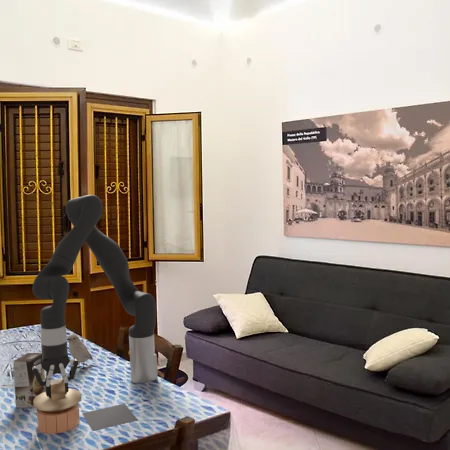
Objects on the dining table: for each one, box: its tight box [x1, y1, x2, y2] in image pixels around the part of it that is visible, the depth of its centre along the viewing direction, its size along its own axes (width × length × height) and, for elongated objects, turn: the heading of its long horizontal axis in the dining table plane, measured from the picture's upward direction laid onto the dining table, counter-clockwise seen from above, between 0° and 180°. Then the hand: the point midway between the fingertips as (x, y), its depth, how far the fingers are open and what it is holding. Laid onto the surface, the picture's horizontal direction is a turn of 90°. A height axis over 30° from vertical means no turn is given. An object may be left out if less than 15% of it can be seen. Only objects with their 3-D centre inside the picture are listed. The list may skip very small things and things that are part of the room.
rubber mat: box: [81, 403, 138, 432], centre depth 168 cm, size 14×14×1 cm
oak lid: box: [33, 377, 82, 411], centre depth 163 cm, size 14×14×6 cm
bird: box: [67, 333, 94, 370], centre depth 214 cm, size 5×14×15 cm, turn 148°
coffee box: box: [12, 352, 46, 409], centre depth 181 cm, size 9×6×16 cm
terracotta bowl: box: [36, 403, 81, 434], centre depth 164 cm, size 12×12×6 cm
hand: (57, 395), depth 163 cm, fingers closed on oak lid, 4 cm apart
